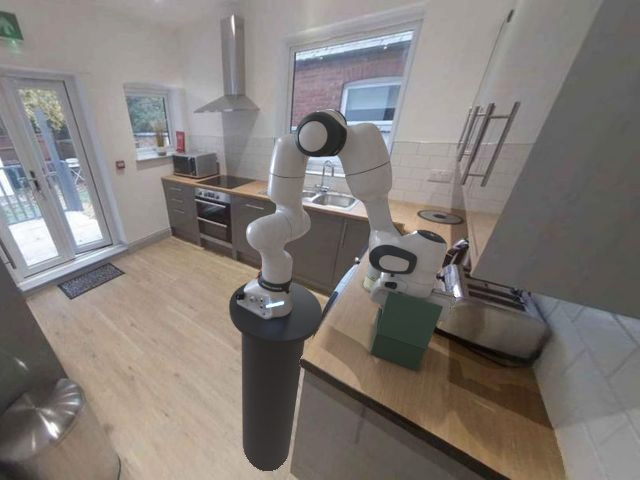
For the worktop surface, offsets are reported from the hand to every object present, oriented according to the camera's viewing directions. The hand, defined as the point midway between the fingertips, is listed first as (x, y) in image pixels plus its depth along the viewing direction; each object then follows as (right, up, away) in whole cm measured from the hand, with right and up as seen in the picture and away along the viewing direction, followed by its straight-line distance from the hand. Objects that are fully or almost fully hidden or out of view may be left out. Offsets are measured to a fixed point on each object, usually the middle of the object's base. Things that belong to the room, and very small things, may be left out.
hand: (401, 319), depth 80 cm
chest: (0, -10, +4) cm, 11 cm away
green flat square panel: (-3, +2, -8) cm, 9 cm away
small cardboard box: (+44, +28, +81) cm, 96 cm away
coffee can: (+10, +4, +33) cm, 34 cm away
